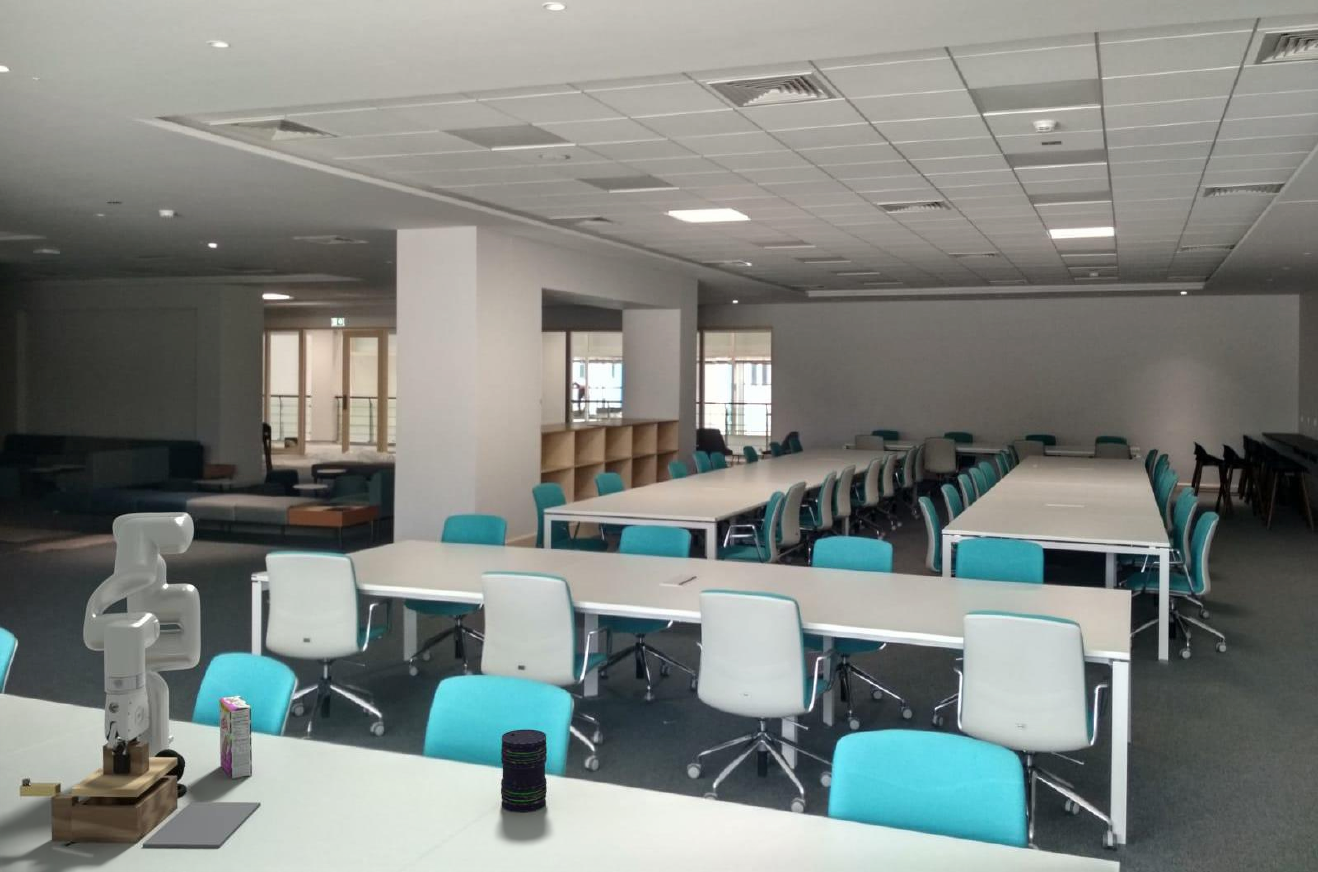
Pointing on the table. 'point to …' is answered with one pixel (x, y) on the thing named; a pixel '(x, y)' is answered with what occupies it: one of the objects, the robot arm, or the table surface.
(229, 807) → the mat
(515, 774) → the storage jar
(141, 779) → the lid
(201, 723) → the table surface
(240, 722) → the candy bar box
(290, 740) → the table surface
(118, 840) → the open wooden box
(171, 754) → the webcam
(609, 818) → the table surface
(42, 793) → the yellow bar with ball
